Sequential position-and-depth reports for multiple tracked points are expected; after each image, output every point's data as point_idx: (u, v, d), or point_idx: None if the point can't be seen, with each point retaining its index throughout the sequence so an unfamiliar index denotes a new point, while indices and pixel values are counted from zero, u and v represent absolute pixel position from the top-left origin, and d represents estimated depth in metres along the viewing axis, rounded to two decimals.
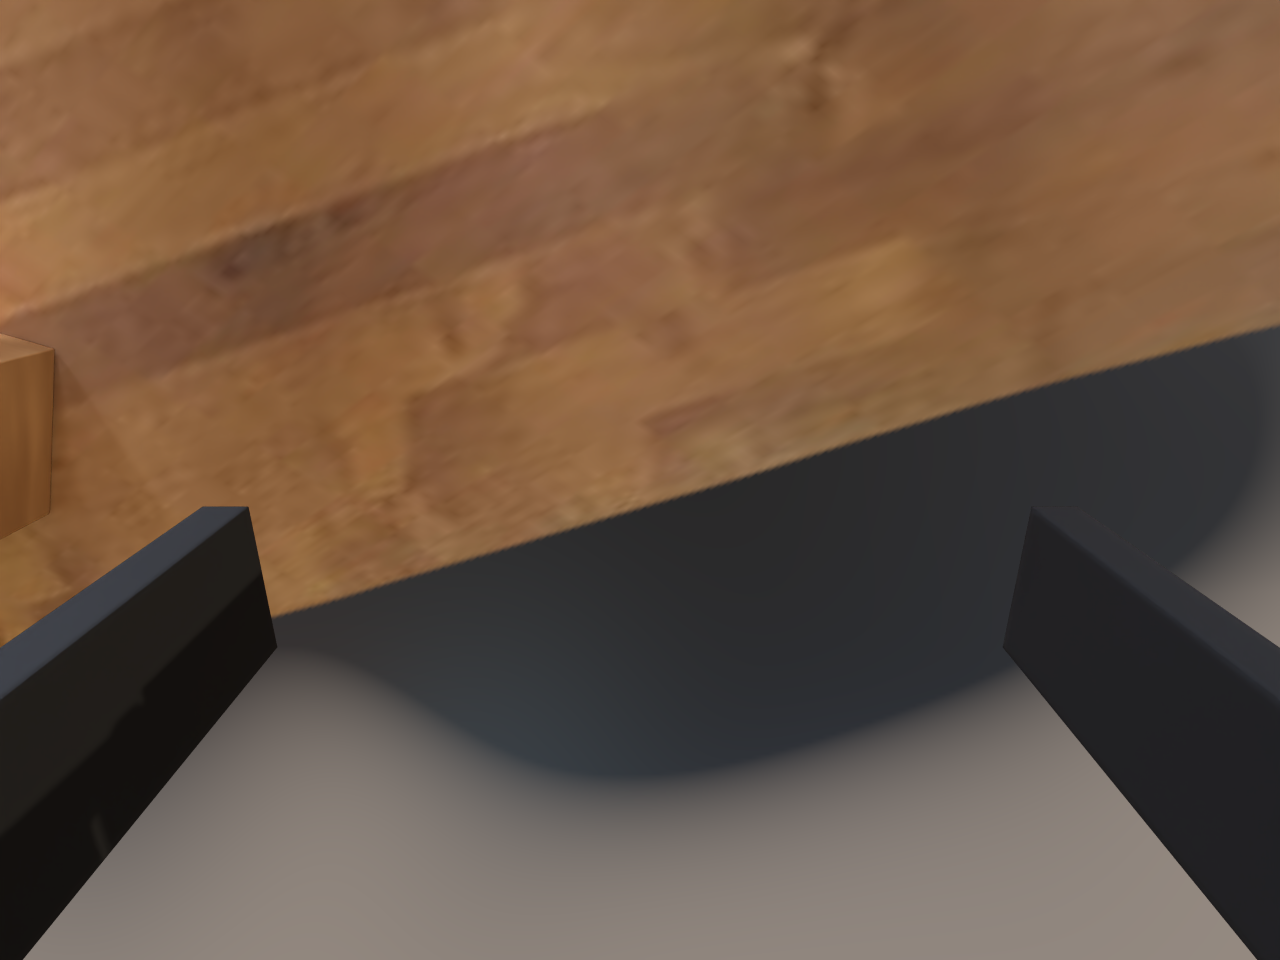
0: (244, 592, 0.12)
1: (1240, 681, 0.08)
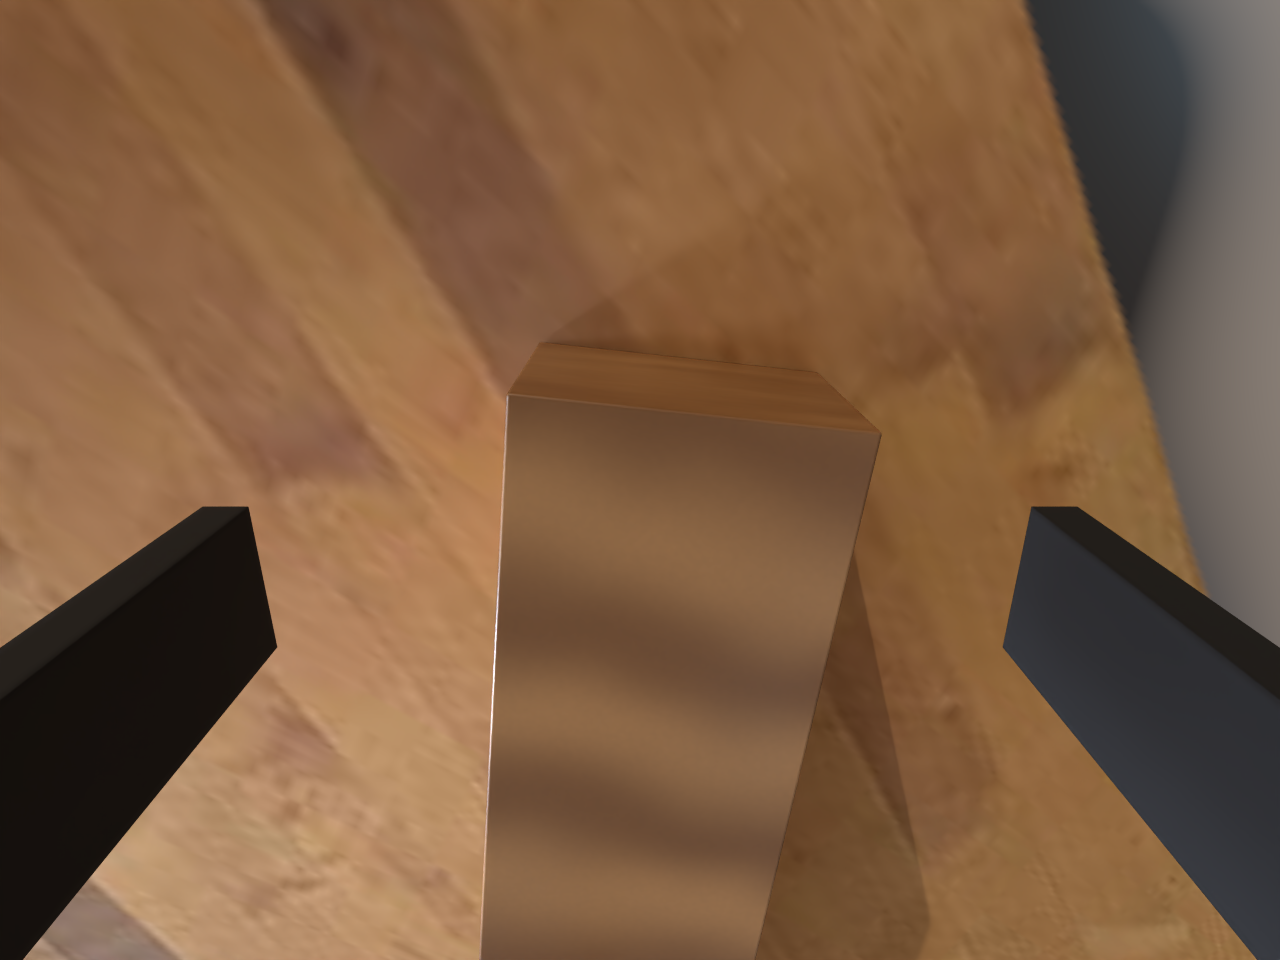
0: (244, 592, 0.12)
1: (1240, 681, 0.08)
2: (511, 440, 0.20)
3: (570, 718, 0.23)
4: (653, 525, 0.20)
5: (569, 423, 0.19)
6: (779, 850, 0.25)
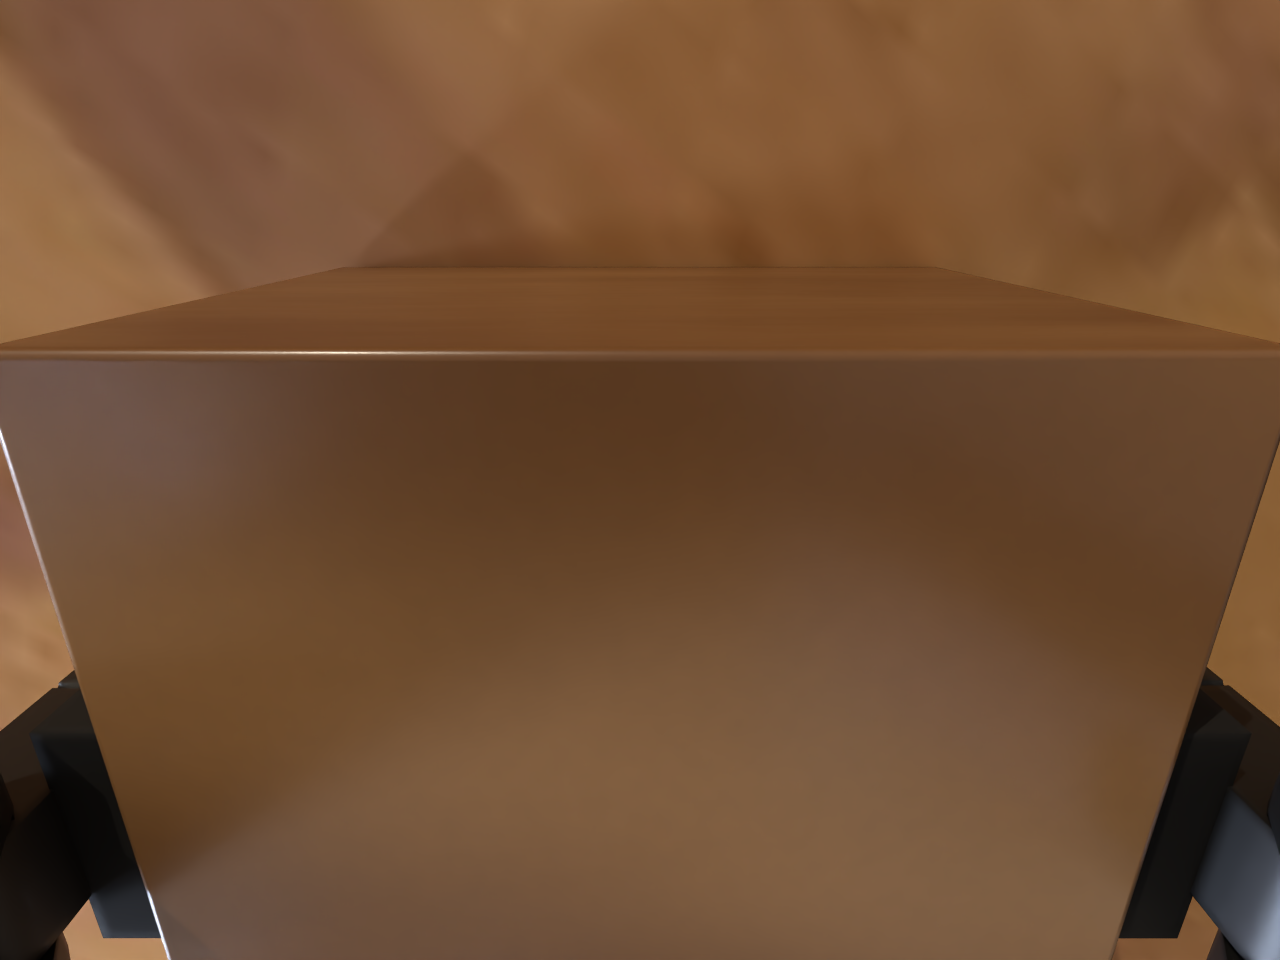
0: None
1: None
2: (42, 508, 0.06)
3: None
4: (555, 718, 0.07)
5: (211, 431, 0.06)
6: None
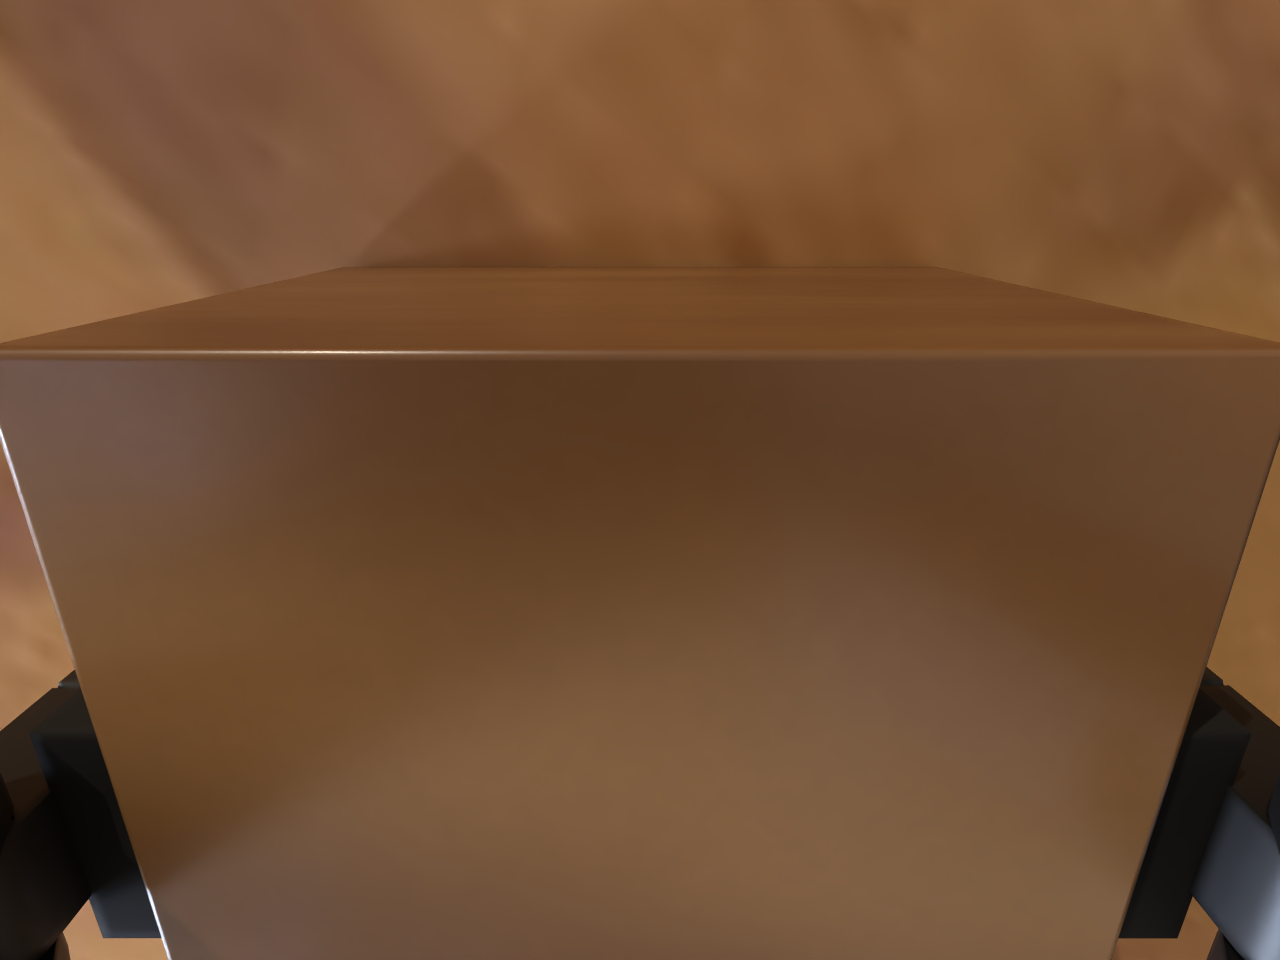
0: None
1: None
2: (43, 508, 0.06)
3: None
4: (556, 718, 0.07)
5: (210, 429, 0.06)
6: None
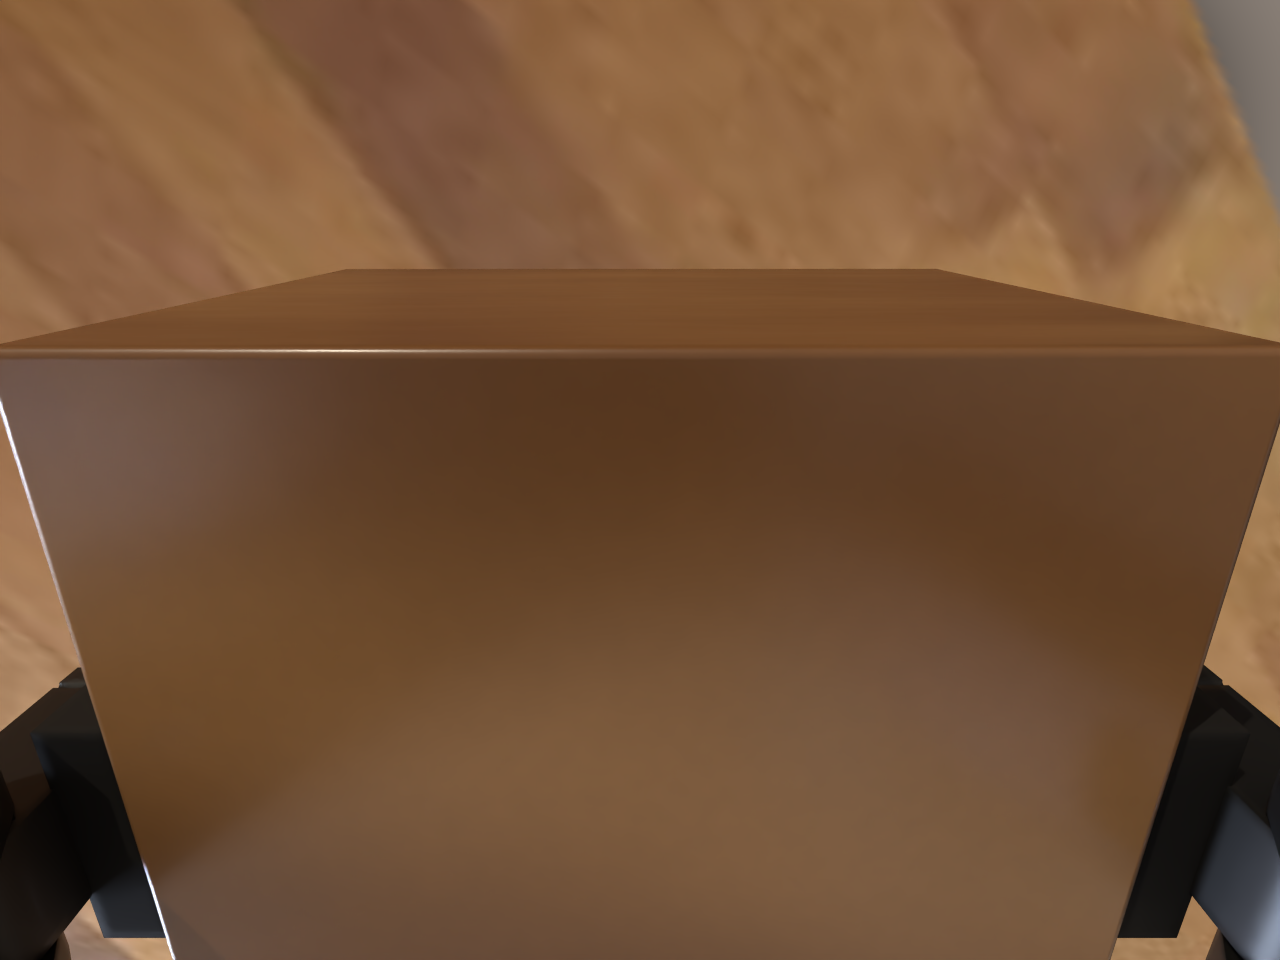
0: None
1: None
2: (50, 505, 0.06)
3: None
4: (557, 714, 0.07)
5: (216, 428, 0.06)
6: None
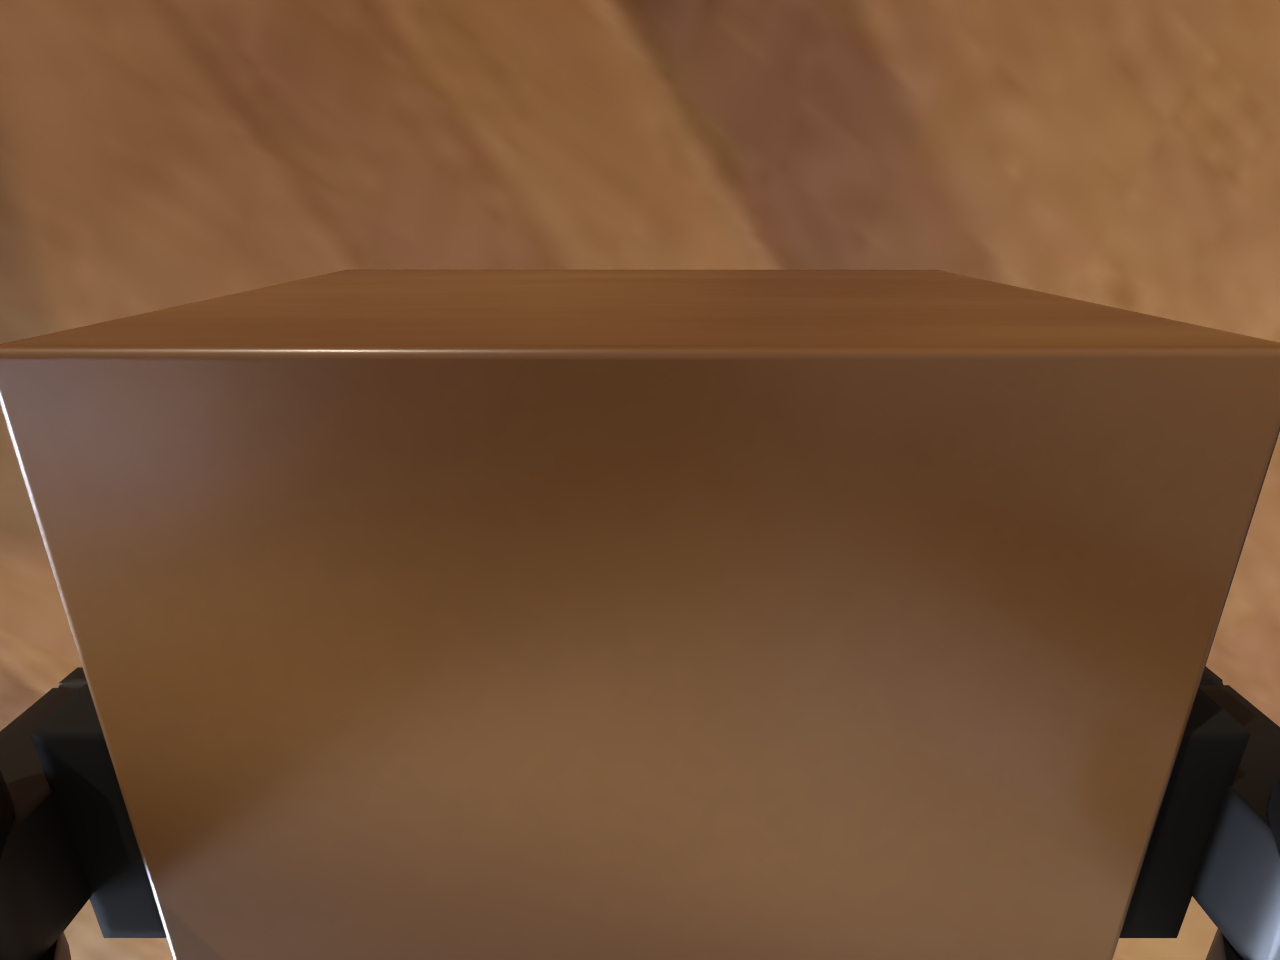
0: None
1: None
2: (52, 505, 0.06)
3: None
4: (559, 714, 0.07)
5: (218, 427, 0.06)
6: None
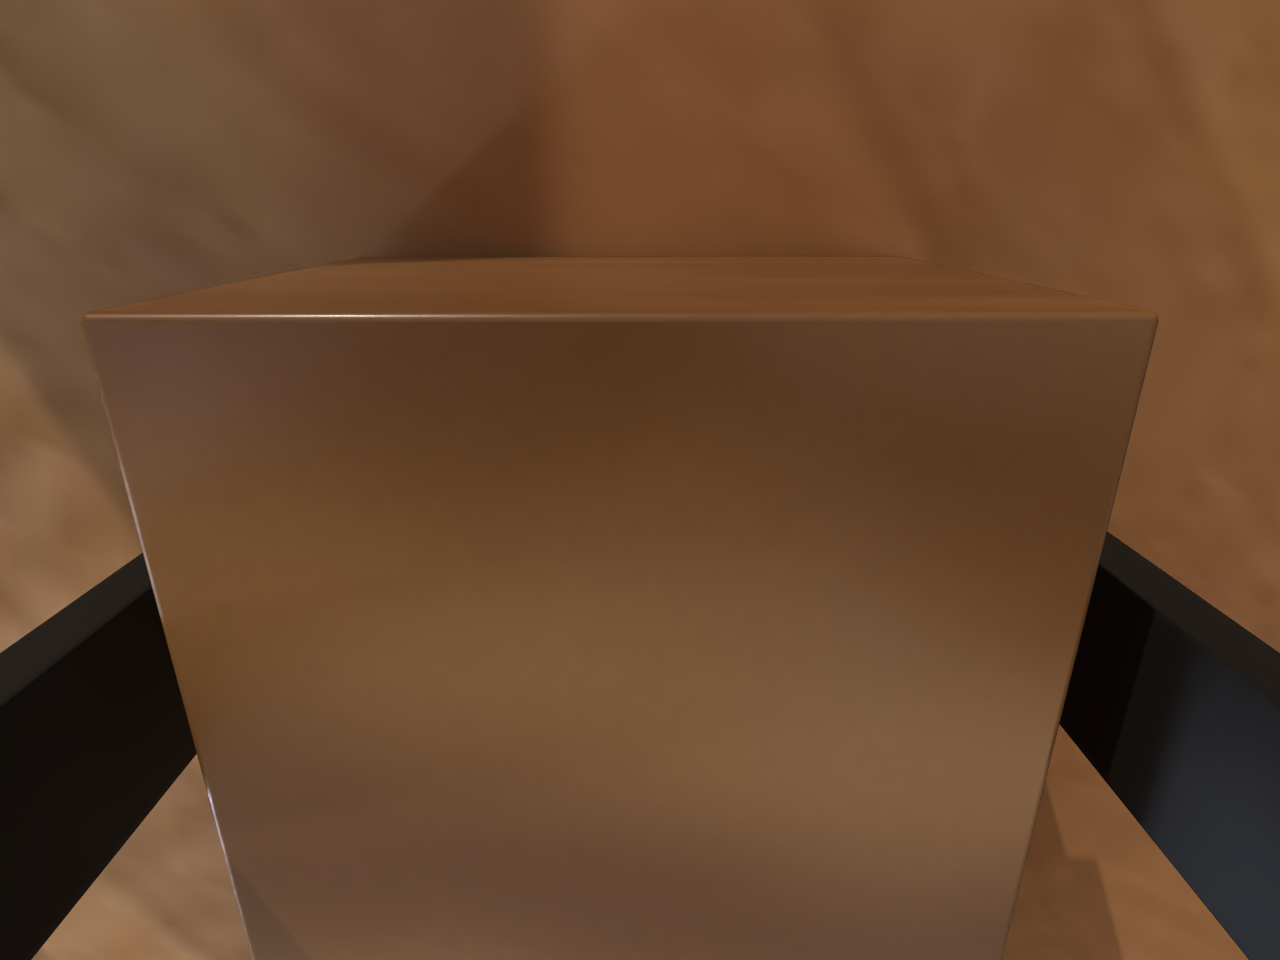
0: None
1: (1227, 677, 0.08)
2: (131, 445, 0.07)
3: None
4: (551, 627, 0.08)
5: (269, 379, 0.07)
6: None
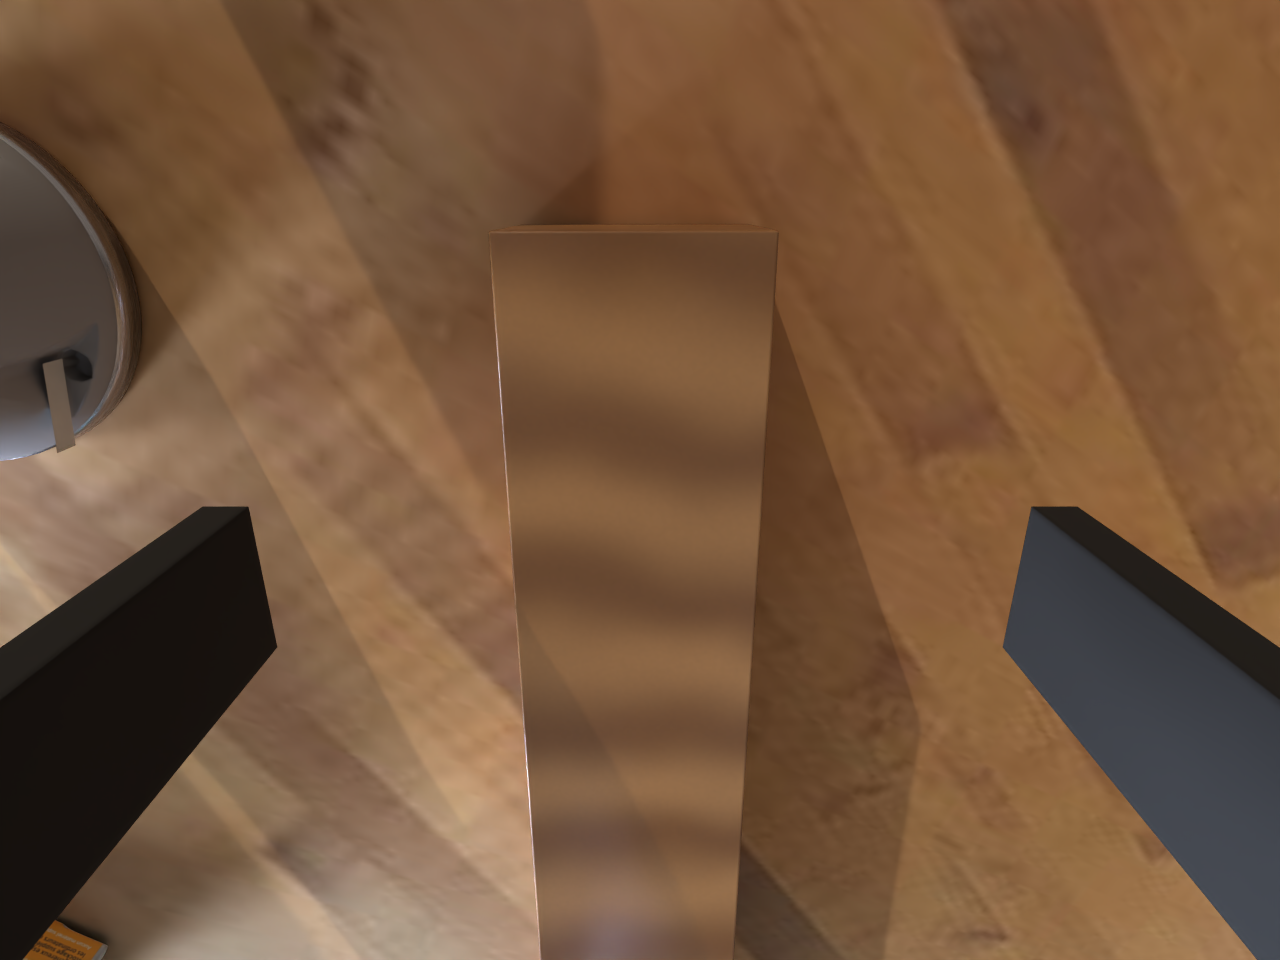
0: (244, 592, 0.12)
1: (1240, 681, 0.08)
2: (496, 269, 0.26)
3: (569, 503, 0.29)
4: (612, 328, 0.26)
5: (538, 249, 0.25)
6: (753, 608, 0.30)
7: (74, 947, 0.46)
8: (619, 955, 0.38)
